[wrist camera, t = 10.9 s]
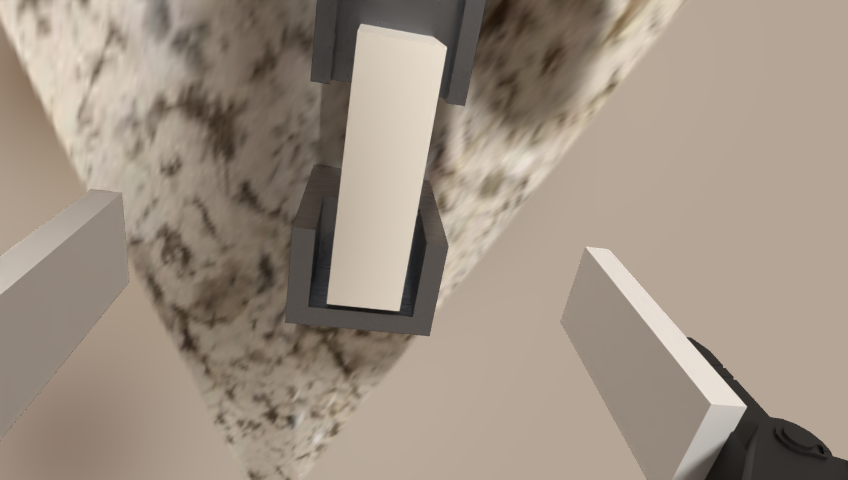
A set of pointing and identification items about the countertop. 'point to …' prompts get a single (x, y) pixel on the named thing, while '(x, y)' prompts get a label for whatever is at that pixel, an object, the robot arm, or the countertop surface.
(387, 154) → the cream rectangular block
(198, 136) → the countertop surface
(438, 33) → the grey channel block
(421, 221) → the cup bracket
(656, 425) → the robot arm
